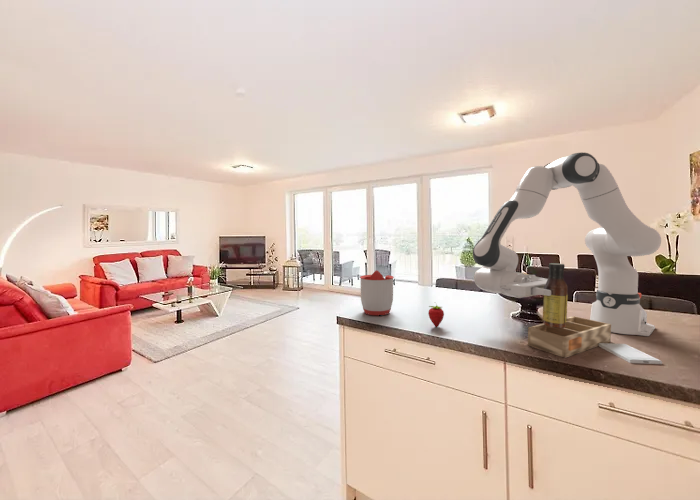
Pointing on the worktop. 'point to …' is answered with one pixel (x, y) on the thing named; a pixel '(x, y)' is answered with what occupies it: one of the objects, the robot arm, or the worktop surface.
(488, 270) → the robot arm
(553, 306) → the sauce bottle
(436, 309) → the strawberry
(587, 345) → the condiment caddy
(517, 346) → the worktop surface
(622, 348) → the hard drive
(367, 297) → the citrus juicer
